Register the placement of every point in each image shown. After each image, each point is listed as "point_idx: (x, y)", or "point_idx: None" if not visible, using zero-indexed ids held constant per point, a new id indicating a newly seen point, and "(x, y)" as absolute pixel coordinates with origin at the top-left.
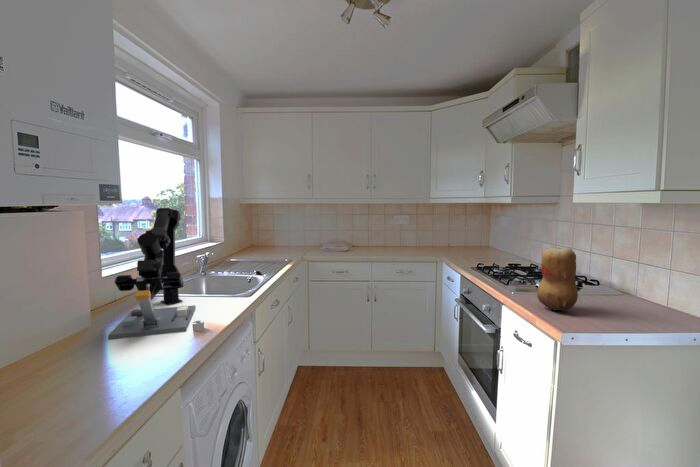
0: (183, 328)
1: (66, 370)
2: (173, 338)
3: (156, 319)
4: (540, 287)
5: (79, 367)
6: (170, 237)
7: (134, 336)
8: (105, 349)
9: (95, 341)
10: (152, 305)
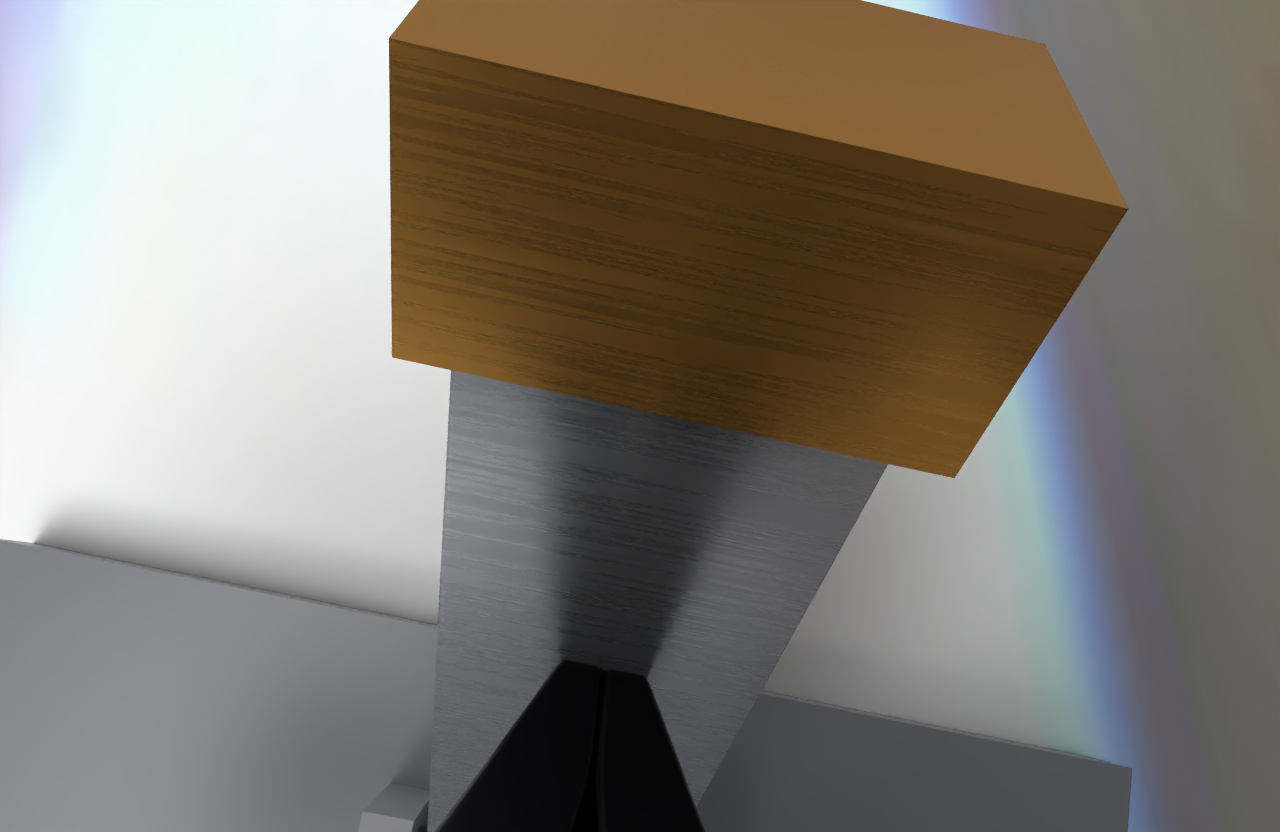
0: (43, 548)
1: (1265, 11)
2: (252, 330)
3: None
4: None
5: (1172, 17)
6: None
7: (762, 691)
8: (1043, 383)
9: (1237, 767)
10: (435, 694)
